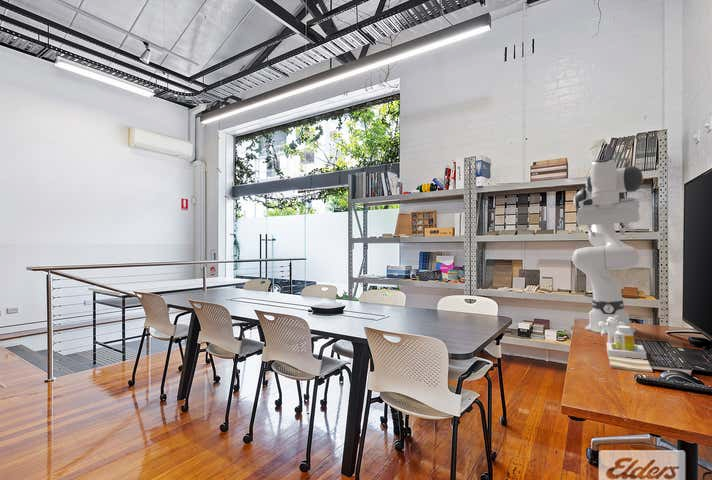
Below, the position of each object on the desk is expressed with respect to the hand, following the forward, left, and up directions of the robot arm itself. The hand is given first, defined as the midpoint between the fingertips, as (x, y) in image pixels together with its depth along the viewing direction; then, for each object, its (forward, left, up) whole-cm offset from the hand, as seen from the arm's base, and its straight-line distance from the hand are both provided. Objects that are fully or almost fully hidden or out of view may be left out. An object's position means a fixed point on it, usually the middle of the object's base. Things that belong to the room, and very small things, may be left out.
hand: (607, 235), depth 144 cm
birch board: (+19, +3, -44) cm, 48 cm away
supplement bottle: (+6, +3, -44) cm, 45 cm away
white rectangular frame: (+6, +3, -44) cm, 44 cm away
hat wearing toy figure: (-7, 0, -44) cm, 45 cm away
